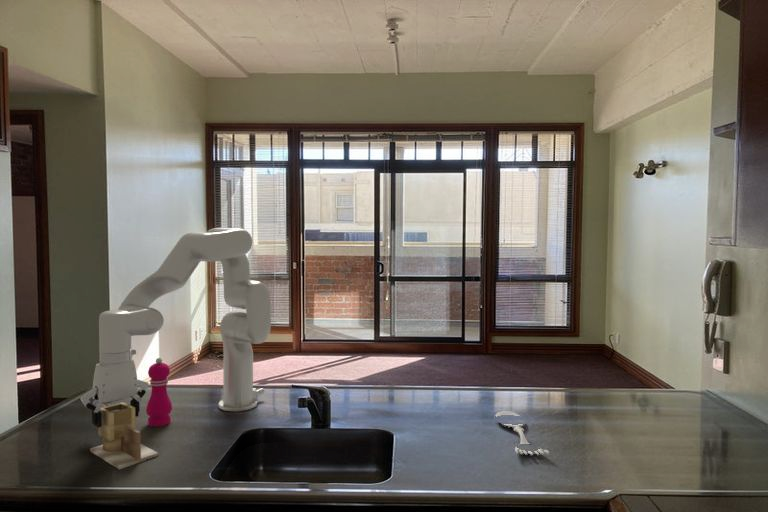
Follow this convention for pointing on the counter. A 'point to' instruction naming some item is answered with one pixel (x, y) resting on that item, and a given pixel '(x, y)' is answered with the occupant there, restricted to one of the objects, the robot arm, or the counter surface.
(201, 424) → the counter surface
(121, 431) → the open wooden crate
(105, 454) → the hinge base
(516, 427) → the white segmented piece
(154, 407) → the pepper mill
